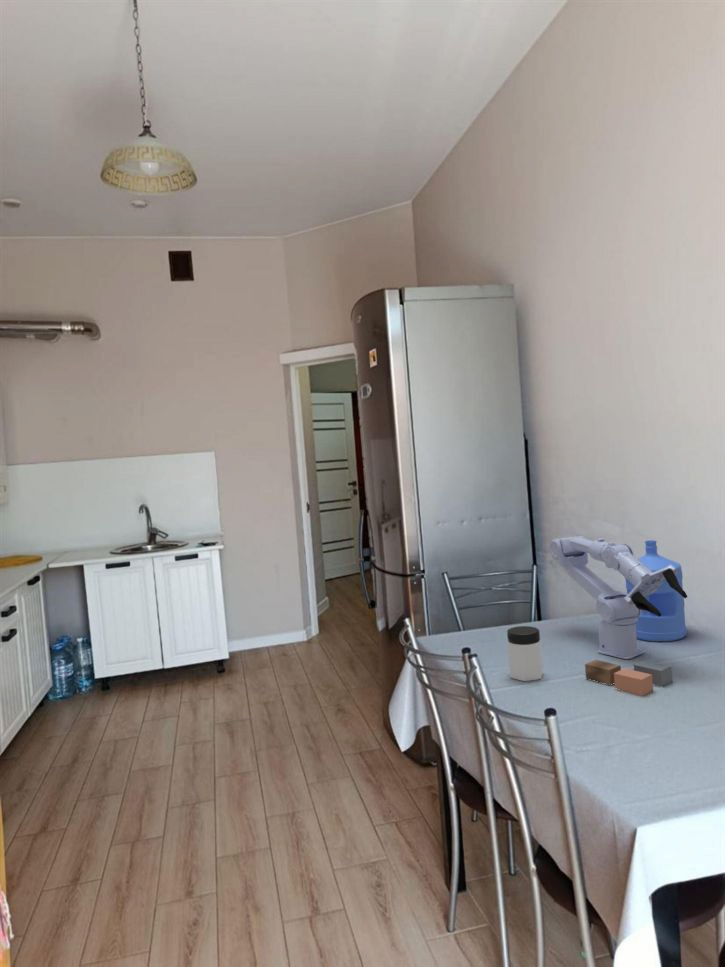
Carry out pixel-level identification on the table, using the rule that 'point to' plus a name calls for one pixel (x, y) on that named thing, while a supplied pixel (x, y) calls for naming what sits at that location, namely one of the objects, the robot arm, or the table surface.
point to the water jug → (661, 602)
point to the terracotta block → (633, 681)
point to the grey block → (655, 671)
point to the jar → (525, 653)
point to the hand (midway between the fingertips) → (672, 604)
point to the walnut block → (601, 671)
